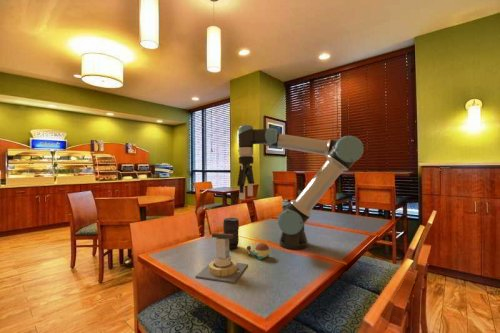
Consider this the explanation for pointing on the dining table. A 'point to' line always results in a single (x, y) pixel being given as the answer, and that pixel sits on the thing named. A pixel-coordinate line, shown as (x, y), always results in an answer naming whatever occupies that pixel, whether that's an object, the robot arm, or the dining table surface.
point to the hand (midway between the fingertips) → (246, 197)
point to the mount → (222, 272)
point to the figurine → (260, 251)
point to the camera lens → (231, 231)
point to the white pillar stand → (222, 250)
